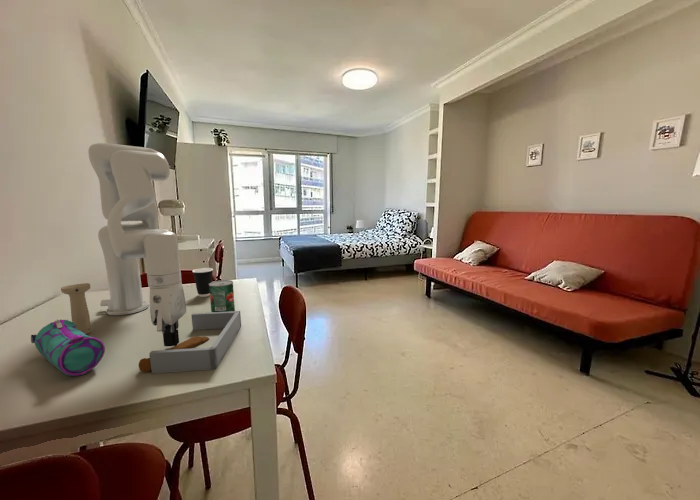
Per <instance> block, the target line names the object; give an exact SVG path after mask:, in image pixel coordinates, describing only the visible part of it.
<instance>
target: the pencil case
mask: <svg viewBox="0 0 700 500" xmlns="http://www.w3.org/2000/svg"><path fill="white" fill-rule="evenodd" d="M30 341H31V343H32V344H34V345H35V348H36V349H37V351H38V352H39V353H40V354H41V356H43V358H45V359H46V360H47V361H48V362H49V363H50V364H51V365H52V366H54V367H55V368H56V369H57V370H59V371H60V372H61V373H62V374H63V375H66V376H69V377H78V376H79V377H80V376H83V375H86V374H88V373H89V372H91V371H92V370H93V369H94V368H95V367H96V366H97V365H98V364H99V363H100V362H101V360H102V359H103V357H104V354H105V351H106V348H105V344H104V342H103V341H102V340H101V339H100V338H98V337H96V336H95V337H94V336H89V335H88V334H85V333H84V332H81V331H80V330H77V327H76V325H75V324H74V323H73V322H72V320H68V319H56V320H54V321H53V322H50V323H47V325H45V326H43V327H42V328H40V330H39V331H38V333H37V334H35V333H34V334H30Z"/></svg>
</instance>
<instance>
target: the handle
mask: <svg viewBox="0 0 700 500" xmlns="http://www.w3.org/2000/svg"><path fill="white" fill-rule="evenodd" d="M90 289H91V283H88V282H87V283H86V282H85V283H76V284H71V285H69V284H68V285H65V286H62V287H60V292H61V293H63V294H65V295H67V296H68V297H69V303H70V315H71V322H73V323H74V324H75V325H76V327H77V330H80V331H81V332H84V333H85V334H86V335H88V334H90V333H91V328H90V327H91V319H90V318H91V317H90V311H89V307H88V305H87V300H86V292H87V291H89V290H90Z"/></svg>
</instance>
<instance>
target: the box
mask: <svg viewBox="0 0 700 500" xmlns="http://www.w3.org/2000/svg"><path fill="white" fill-rule="evenodd" d="M190 315H191V326H192V327H191V328H192V331H202V330H218V329H222V331H221V332H220V333H219V335H218V337H217V338H216V339H215V340H214V342H213V343H212V345H211V346H209V347H208V346H207V347H197V348H196V347H193V348H190V349H174V350H167V349H163V350H161V349H160V350H151V351H150V352H149V358H150V362H151V370H150V371H151V374H165V373H178V372H179V373H180V372H195V371H206V370H209V371H210V370H217V368H218V367H219V366H220V363H221V361H222V360H223V358H224V357H225V354H227V351H228V349H229V348H230V346H231V344H232V343H233V341H234V340H235V338H236V336H237V335H238V332H239V330H240V329H241V327H242V319H241V311H240V310H237V311H236V310H235V311H230V312H211V311H210V312H194V313H193V312H192V313H191V314H190Z"/></svg>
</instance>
